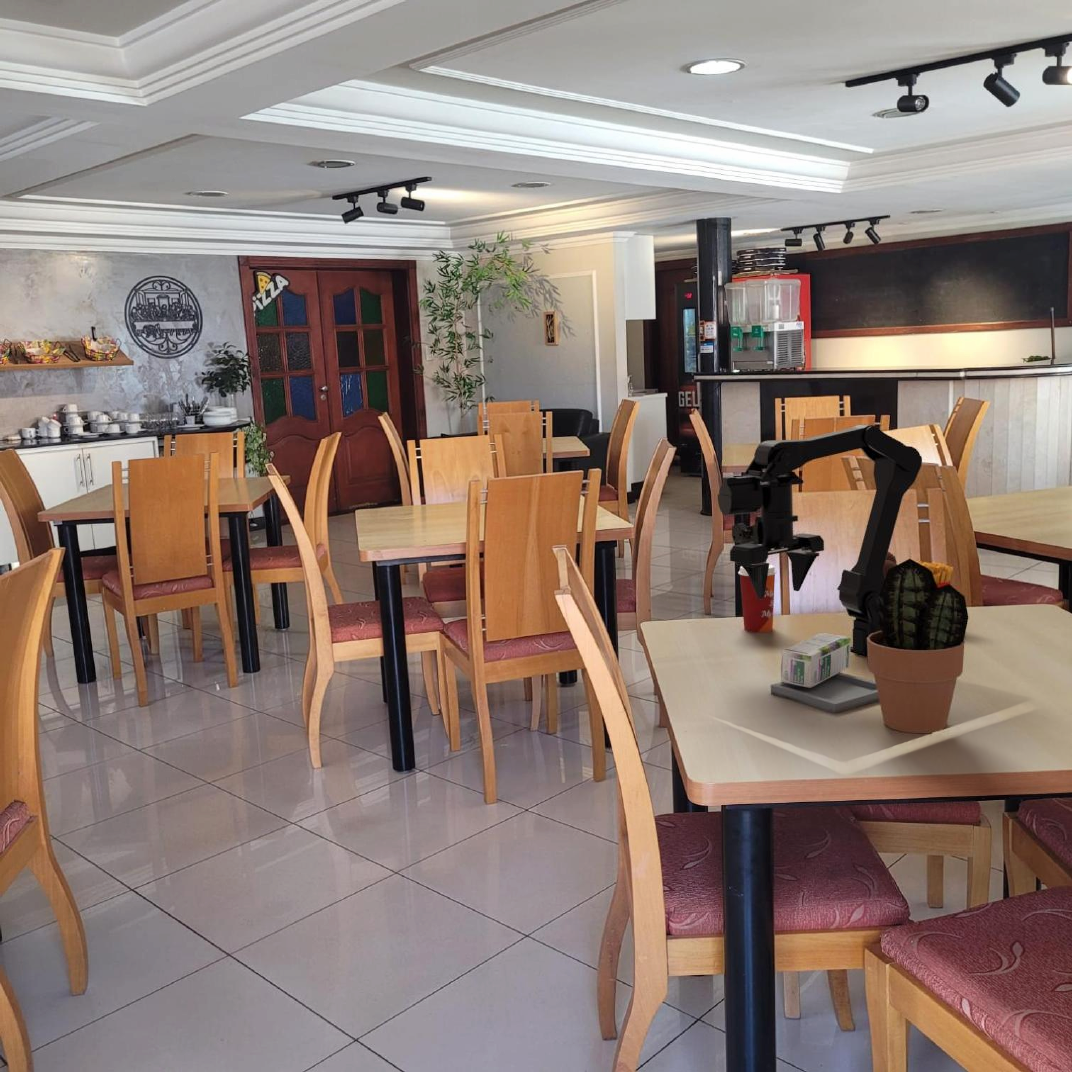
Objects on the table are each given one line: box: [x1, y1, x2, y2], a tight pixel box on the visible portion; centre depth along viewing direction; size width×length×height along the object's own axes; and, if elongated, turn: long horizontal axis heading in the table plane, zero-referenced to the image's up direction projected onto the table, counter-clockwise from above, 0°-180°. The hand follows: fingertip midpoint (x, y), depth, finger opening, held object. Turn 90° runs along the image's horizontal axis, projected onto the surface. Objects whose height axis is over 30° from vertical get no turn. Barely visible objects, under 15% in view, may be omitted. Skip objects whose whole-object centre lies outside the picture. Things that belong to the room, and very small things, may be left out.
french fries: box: [914, 560, 954, 588], centre depth 217 cm, size 9×4×13 cm, turn 55°
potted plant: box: [867, 558, 969, 734], centre depth 157 cm, size 14×14×25 cm
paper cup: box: [737, 564, 777, 633], centre depth 218 cm, size 8×8×14 cm
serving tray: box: [770, 672, 880, 714], centre depth 175 cm, size 14×14×2 cm
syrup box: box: [780, 632, 851, 688], centre depth 181 cm, size 6×6×14 cm
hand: (778, 594), depth 194 cm, fingers open, 9 cm apart
